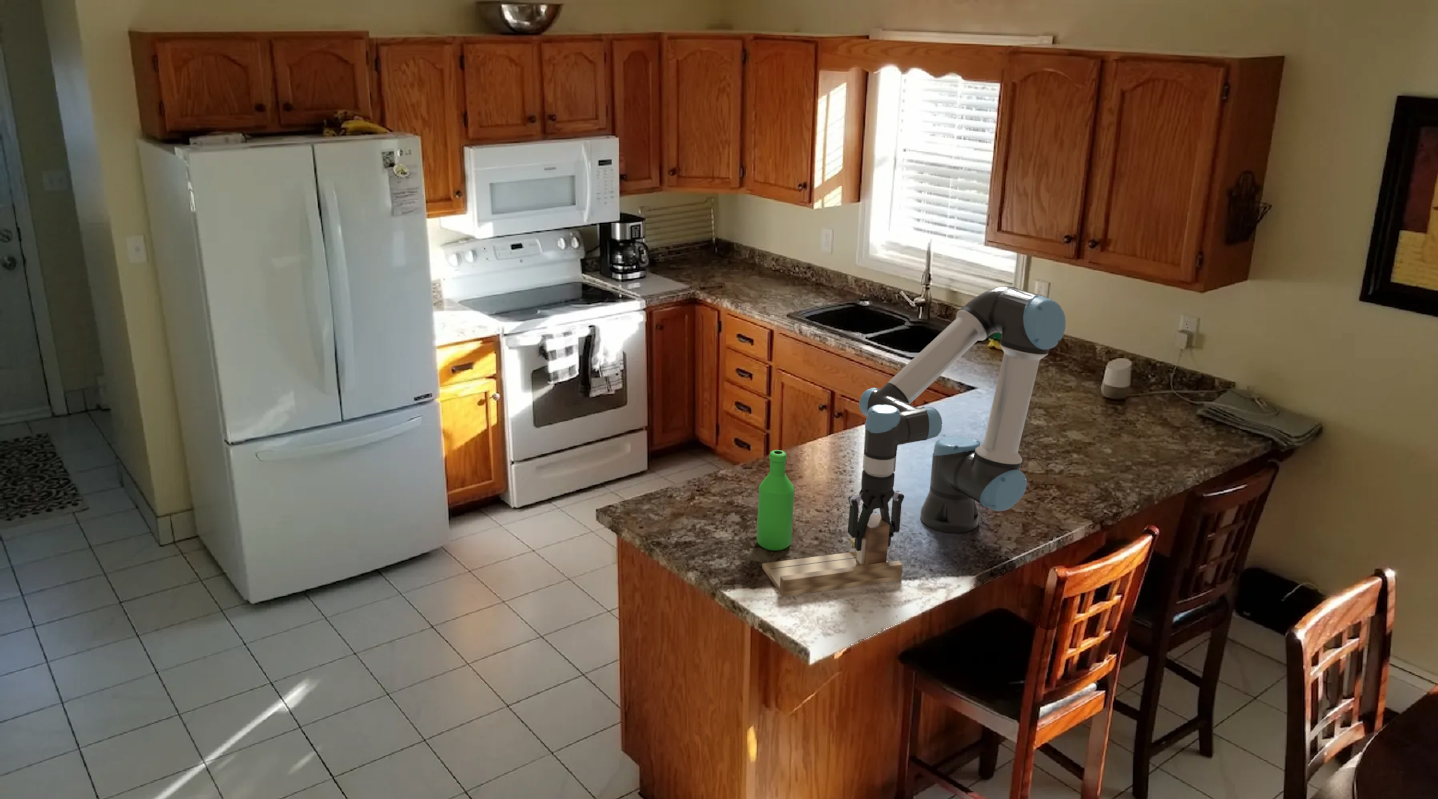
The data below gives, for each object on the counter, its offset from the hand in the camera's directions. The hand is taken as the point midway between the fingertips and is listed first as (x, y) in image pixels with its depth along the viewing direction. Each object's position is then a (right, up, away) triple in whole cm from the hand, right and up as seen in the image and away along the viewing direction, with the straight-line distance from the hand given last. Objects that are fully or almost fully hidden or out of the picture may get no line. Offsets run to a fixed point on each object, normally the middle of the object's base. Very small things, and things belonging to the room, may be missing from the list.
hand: (871, 560), depth 257 cm
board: (-10, -3, 0) cm, 10 cm away
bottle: (-23, +2, +14) cm, 26 cm away
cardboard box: (-1, 0, +4) cm, 4 cm away
